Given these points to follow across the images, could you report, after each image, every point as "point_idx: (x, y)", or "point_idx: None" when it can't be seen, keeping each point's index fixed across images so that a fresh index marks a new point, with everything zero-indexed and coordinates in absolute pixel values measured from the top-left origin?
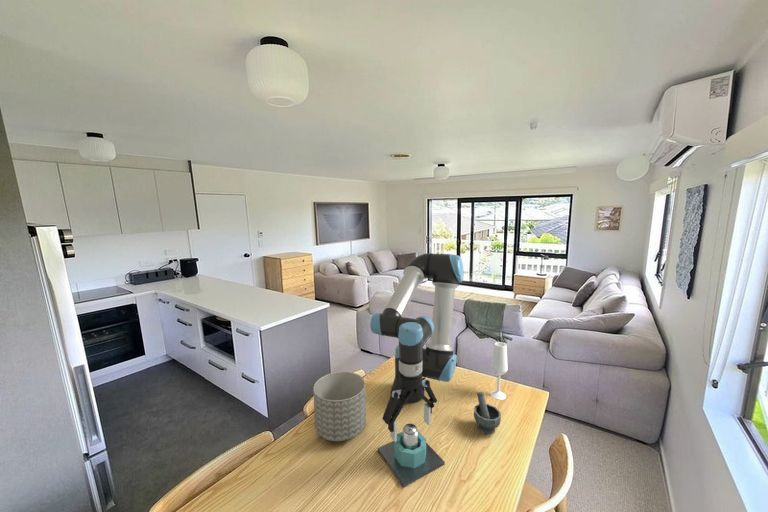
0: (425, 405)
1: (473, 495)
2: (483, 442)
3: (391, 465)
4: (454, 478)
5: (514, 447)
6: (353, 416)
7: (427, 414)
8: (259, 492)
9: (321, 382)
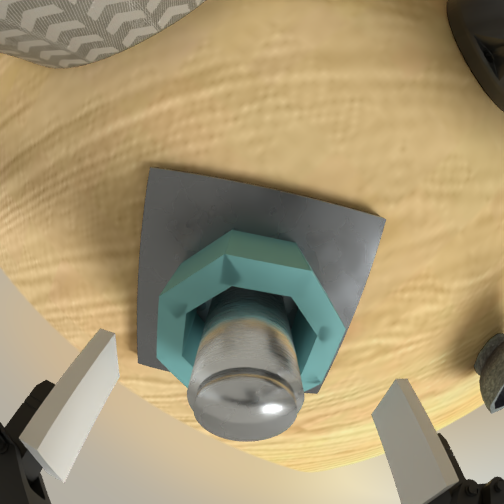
0: (430, 496)
1: (279, 450)
2: (447, 382)
3: (142, 288)
4: None
5: (452, 413)
6: (4, 31)
7: (398, 461)
8: None
9: None
